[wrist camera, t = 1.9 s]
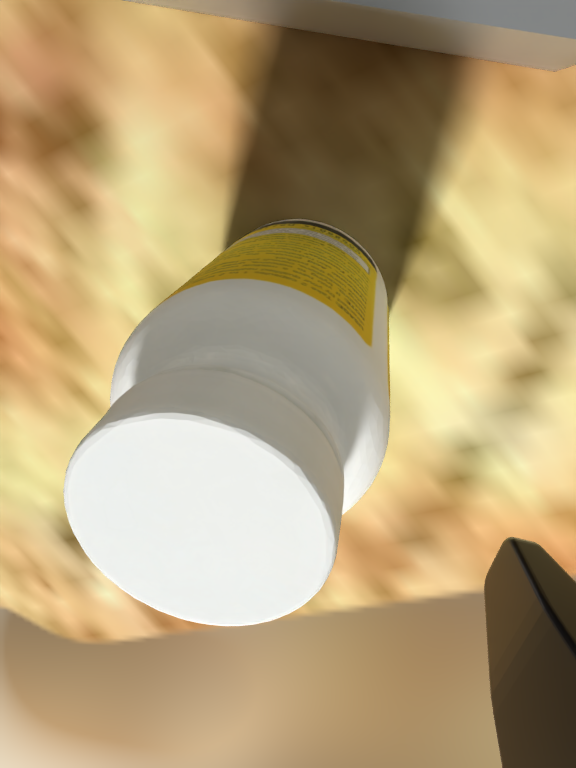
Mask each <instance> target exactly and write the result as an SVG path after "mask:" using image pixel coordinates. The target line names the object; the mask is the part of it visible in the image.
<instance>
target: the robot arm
mask: <svg viewBox="0 0 576 768" xmlns="http://www.w3.org/2000/svg"><path fill="white" fill-rule="evenodd" d="M484 594H485V611H486V628H487V644H488V662H489V679H490V690H491V700H492V707H493V714H494V720H495V726H496V732H497V738H498V744H499V749H500V756H501V762H502V768H576V582H575V581H574V580H573V579H572V578H571V577H570V576H569V575H568V574H567V573H566V572H565V570H564V569H563V568H562V567H561V566H560V565H559V564H558V563H557V562H556V561H555V560H554V559H553V558H552V557H551V556H550V555H549V554H548V553H547V552H546V551H545V550H544V549H543V548H542V547H541V546H540V545H539V544H537V543H535V542H532V541H527V540H523V539H519V538H514V537H510V538H507V539H506V540H505V541H504V542H503V543H502V545H501V547H500V549H499V551H498V553H497V555H496V557H495V559H494V561H493V563H492V565H491V567H490V569H489V571H488V573H487V576H486V579H485V586H484Z"/></svg>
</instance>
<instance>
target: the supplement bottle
mask: <svg viewBox="0 0 576 768" xmlns="http://www.w3.org/2000/svg"><path fill="white" fill-rule="evenodd" d="M110 405H111V407H110V409H109V410H108V412H107V413H106V414H105V415H104V417H103V418H102V419H101V420H100V421H99V422H98V423H97V424H96V425H95V426H94V427H93V429H92V430H91V431H90V432H89V433H88V434H87V435H86V436H85V437H84V438H83V439H82V441H81V442H80V444H79V445H78V447H77V448H76V450H75V452H74V453H73V455H72V457H71V459H70V462H69V465H68V467H67V470H66V476H65V483H64V502H65V509H66V512H67V516H68V520H69V523H70V525H71V528H72V530H73V533H74V534H75V536H76V538H77V540H78V541H79V543H80V545H81V547H82V548H83V550H84V551H85V553H86V554H87V556H88V557H89V558H90V560H91V561H92V562H93V563H94V565H95V566H96V567H97V568H98V569H99V570H100V571H101V572H102V573H103V574H104V575H105V576H106V577H107V578H109V579H110V580H111V581H112V582H113V583H115V584H116V585H117V586H118V587H120V588H121V589H122V590H124V591H125V592H127V593H128V594H129V595H131V596H132V597H134V598H135V599H137V600H139V601H141V602H143V603H145V604H147V605H149V606H151V607H153V608H155V609H157V610H158V611H161V612H164V613H167V614H169V615H172V616H175V617H177V618H180V619H184V620H188V621H192V622H197V623H203V624H208V625H219V626H244V625H253V624H258V623H263V622H267V621H271V620H274V619H277V618H280V617H282V616H285V615H287V614H289V613H291V612H293V611H295V610H296V609H298V608H300V607H301V606H303V605H304V604H305V603H306V602H308V601H309V600H310V599H311V598H312V597H313V596H314V595H315V594H316V593H317V592H318V591H319V590H320V589H321V587H322V586H323V584H324V583H325V581H326V580H327V578H328V576H329V574H330V572H331V569H332V567H333V564H334V561H335V558H336V554H337V547H338V540H339V532H340V525H341V517H342V514H344V513H345V512H346V511H348V510H349V509H350V508H351V507H352V506H353V505H354V504H355V503H356V502H357V501H358V500H359V499H360V498H361V497H362V496H363V495H364V493H365V492H366V491H367V490H368V488H369V487H370V486H371V484H372V483H373V481H374V479H375V477H376V475H377V473H378V471H379V469H380V467H381V465H382V462H383V459H384V456H385V452H386V448H387V443H388V437H389V424H390V374H389V308H388V299H387V292H386V288H385V284H384V281H383V278H382V275H381V273H380V271H379V269H378V267H377V265H376V263H375V262H374V260H373V259H372V257H371V256H370V255H369V253H368V252H367V251H366V250H365V249H364V248H363V247H362V246H361V245H360V244H359V243H358V242H357V241H356V240H354V239H353V238H352V237H351V236H349V235H348V234H346V233H345V232H343V231H341V230H339V229H337V228H335V227H333V226H331V225H328V224H325V223H322V222H318V221H313V220H307V219H287V220H281V221H276V222H272V223H269V224H266V225H264V226H261V227H259V228H257V229H255V230H253V231H252V232H250V233H248V234H247V235H245V236H243V237H242V238H241V239H239V240H238V241H236V242H235V243H234V244H232V245H231V246H230V247H229V248H227V249H226V250H225V251H224V252H223V253H221V254H220V255H219V256H218V257H217V258H215V259H214V260H213V261H212V262H211V263H209V264H208V265H207V266H205V267H204V268H203V269H202V270H201V271H200V272H198V273H197V274H196V275H195V276H193V277H192V278H191V279H190V280H189V281H187V282H186V283H185V284H184V285H183V286H181V287H180V288H179V289H178V290H176V291H175V292H174V293H173V294H171V295H170V296H169V297H168V298H166V299H165V300H164V301H163V302H161V303H160V304H159V305H158V306H157V307H156V308H154V309H153V310H152V311H151V312H150V313H149V314H148V315H147V316H146V317H145V318H144V319H143V320H142V321H141V322H140V324H139V325H138V326H137V327H136V328H135V330H134V331H133V332H132V334H131V335H130V337H129V338H128V340H127V341H126V343H125V344H124V346H123V348H122V350H121V352H120V355H119V357H118V360H117V362H116V365H115V369H114V373H113V378H112V385H111V395H110Z"/></svg>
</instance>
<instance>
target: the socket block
mask: <svg viewBox="0 0 576 768" xmlns="http://www.w3.org/2000/svg"><path fill="white" fill-rule="evenodd" d="M124 1H130V2H136V3H142V4H148V5H154V6H161V7H167V8H173V9H179V10H185V11H191V12H197V13H203V14H209V15H215V16H221V17H227V18H233V19H239V20H245V21H251V22H257V23H264V24H270V25H276V26H282V27H288V28H294V29H300V30H306V31H312V32H318V33H324V34H330V35H336V36H342V37H348V38H354V39H360V40H367V41H373V42H379V43H385V44H391V45H397V46H403V47H409V48H415V49H421V50H427V51H433V52H439V53H445V54H451V55H457V56H463V57H469V58H476V59H482V60H488V61H494V62H500V63H506V64H512V65H518V66H524V67H530V68H536V69H542V70H548V71H554V72H555V71H558V70H561V69H565V68H568V67H571V66H574V65H576V0H124Z"/></svg>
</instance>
